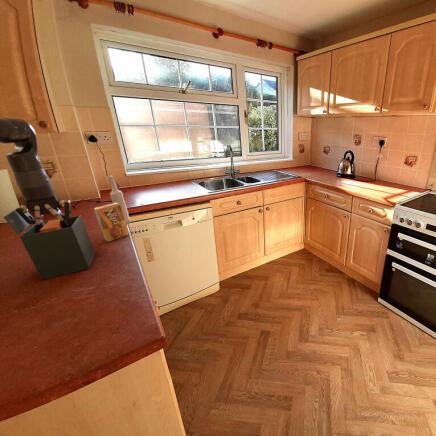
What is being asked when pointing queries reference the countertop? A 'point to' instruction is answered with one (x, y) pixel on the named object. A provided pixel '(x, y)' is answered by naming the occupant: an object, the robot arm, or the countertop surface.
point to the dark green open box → (59, 248)
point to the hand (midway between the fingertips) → (56, 231)
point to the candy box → (111, 221)
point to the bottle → (119, 199)
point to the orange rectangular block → (51, 226)
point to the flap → (16, 221)
